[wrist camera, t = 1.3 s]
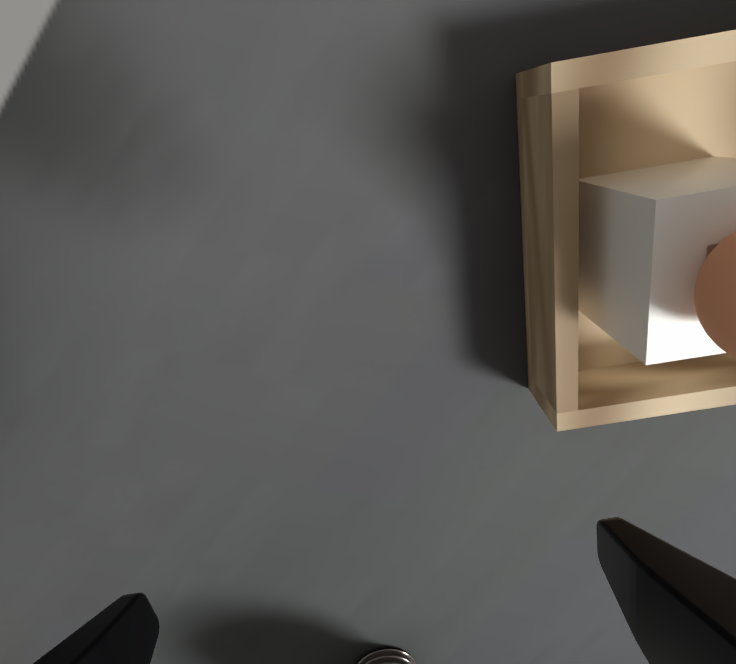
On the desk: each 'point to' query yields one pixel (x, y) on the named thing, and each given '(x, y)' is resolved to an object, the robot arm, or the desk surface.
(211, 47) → the desk surface
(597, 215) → the stand
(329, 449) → the desk surface
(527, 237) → the tray
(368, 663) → the light bulb
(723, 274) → the ball
